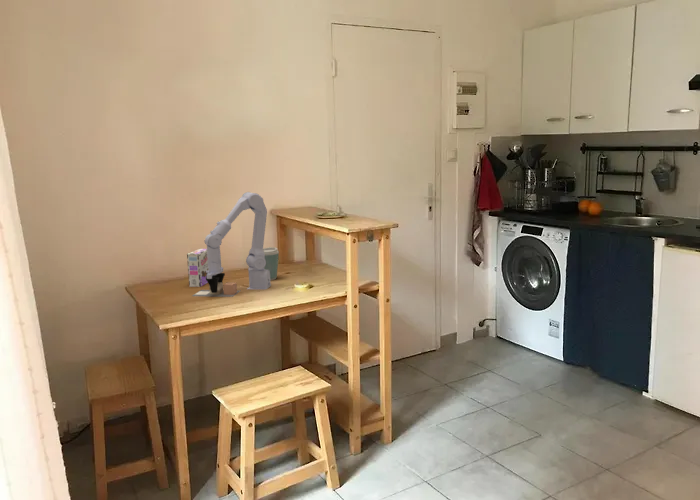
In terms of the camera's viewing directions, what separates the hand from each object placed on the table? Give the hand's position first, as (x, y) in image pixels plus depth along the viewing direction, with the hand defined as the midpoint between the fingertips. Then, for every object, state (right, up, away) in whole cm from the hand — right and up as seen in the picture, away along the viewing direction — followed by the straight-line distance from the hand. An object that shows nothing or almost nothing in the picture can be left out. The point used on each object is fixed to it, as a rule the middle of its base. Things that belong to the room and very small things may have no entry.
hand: (216, 291), depth 262 cm
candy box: (-12, +2, +20) cm, 24 cm away
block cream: (0, -1, 0) cm, 1 cm away
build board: (0, -2, 0) cm, 2 cm away
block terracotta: (+6, -1, -1) cm, 7 cm away
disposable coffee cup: (+20, +4, +28) cm, 34 cm away
